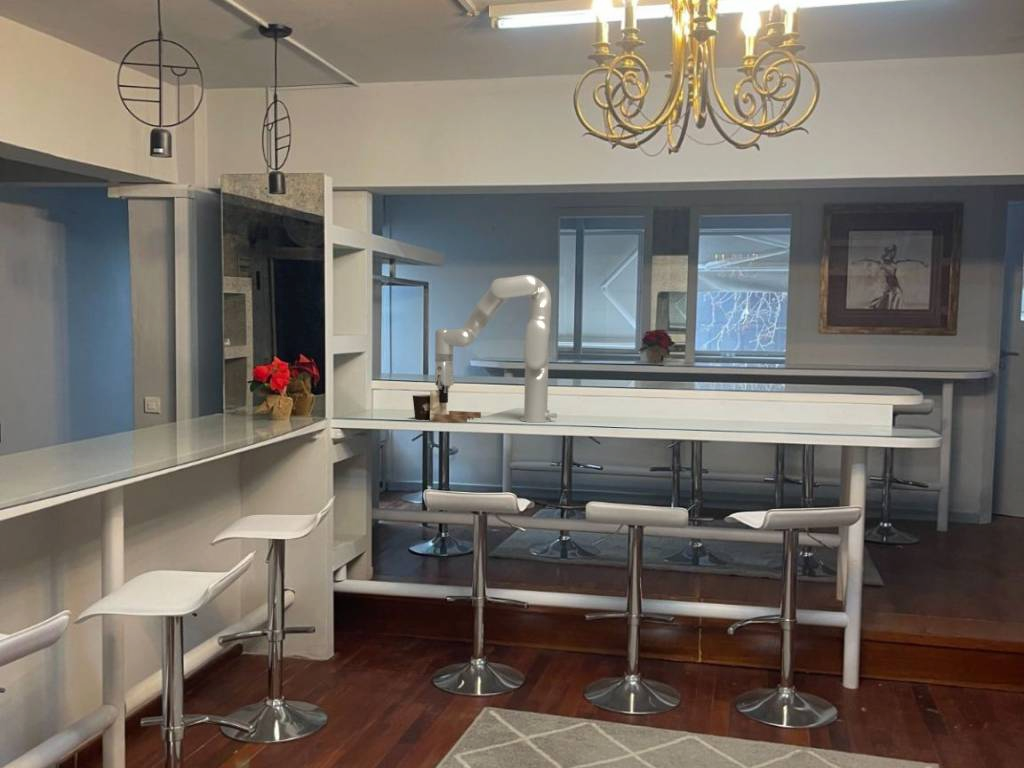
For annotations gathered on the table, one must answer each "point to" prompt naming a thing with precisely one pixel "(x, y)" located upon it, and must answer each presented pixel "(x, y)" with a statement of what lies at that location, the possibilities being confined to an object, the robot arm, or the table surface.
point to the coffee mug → (421, 407)
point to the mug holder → (456, 416)
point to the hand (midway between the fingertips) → (443, 402)
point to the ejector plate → (436, 404)
